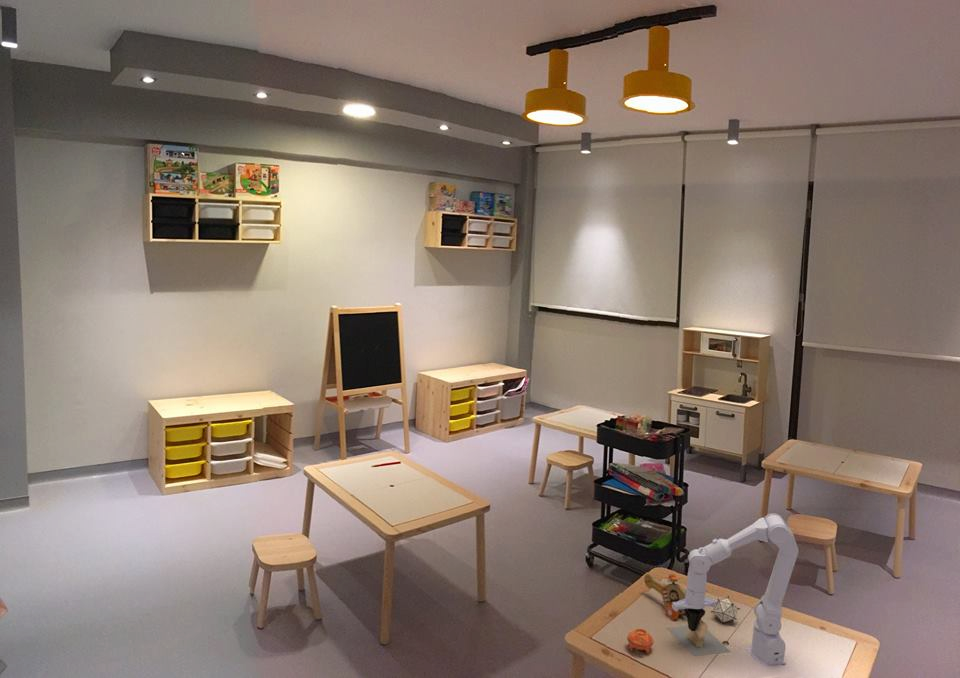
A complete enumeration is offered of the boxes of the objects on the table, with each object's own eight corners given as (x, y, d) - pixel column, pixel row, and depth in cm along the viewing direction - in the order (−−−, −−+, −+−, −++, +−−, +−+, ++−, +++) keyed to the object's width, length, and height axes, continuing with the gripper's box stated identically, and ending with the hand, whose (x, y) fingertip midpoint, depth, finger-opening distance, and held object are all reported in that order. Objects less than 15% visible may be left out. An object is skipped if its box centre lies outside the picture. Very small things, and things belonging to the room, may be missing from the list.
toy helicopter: (676, 624, 230) (680, 585, 229) (635, 595, 249) (638, 559, 247) (694, 619, 234) (698, 581, 232) (653, 591, 252) (656, 555, 251)
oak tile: (702, 646, 217) (708, 625, 216) (696, 646, 216) (702, 625, 216) (691, 636, 223) (697, 615, 222) (686, 635, 222) (691, 615, 222)
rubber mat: (730, 653, 215) (730, 651, 215) (693, 657, 212) (693, 656, 212) (701, 625, 231) (701, 624, 230) (666, 629, 227) (666, 627, 227)
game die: (729, 633, 233) (746, 620, 227) (706, 624, 233) (722, 610, 227) (727, 610, 240) (744, 596, 234) (705, 600, 240) (721, 586, 234)
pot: (635, 658, 209) (634, 635, 210) (623, 650, 216) (622, 627, 217) (659, 655, 211) (658, 632, 212) (646, 646, 219) (645, 624, 219)
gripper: (708, 580, 223) (704, 620, 224) (668, 584, 219) (664, 624, 220) (722, 591, 216) (717, 632, 218) (680, 595, 212) (676, 636, 214)
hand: (691, 629), depth 219 cm, fingers closed
